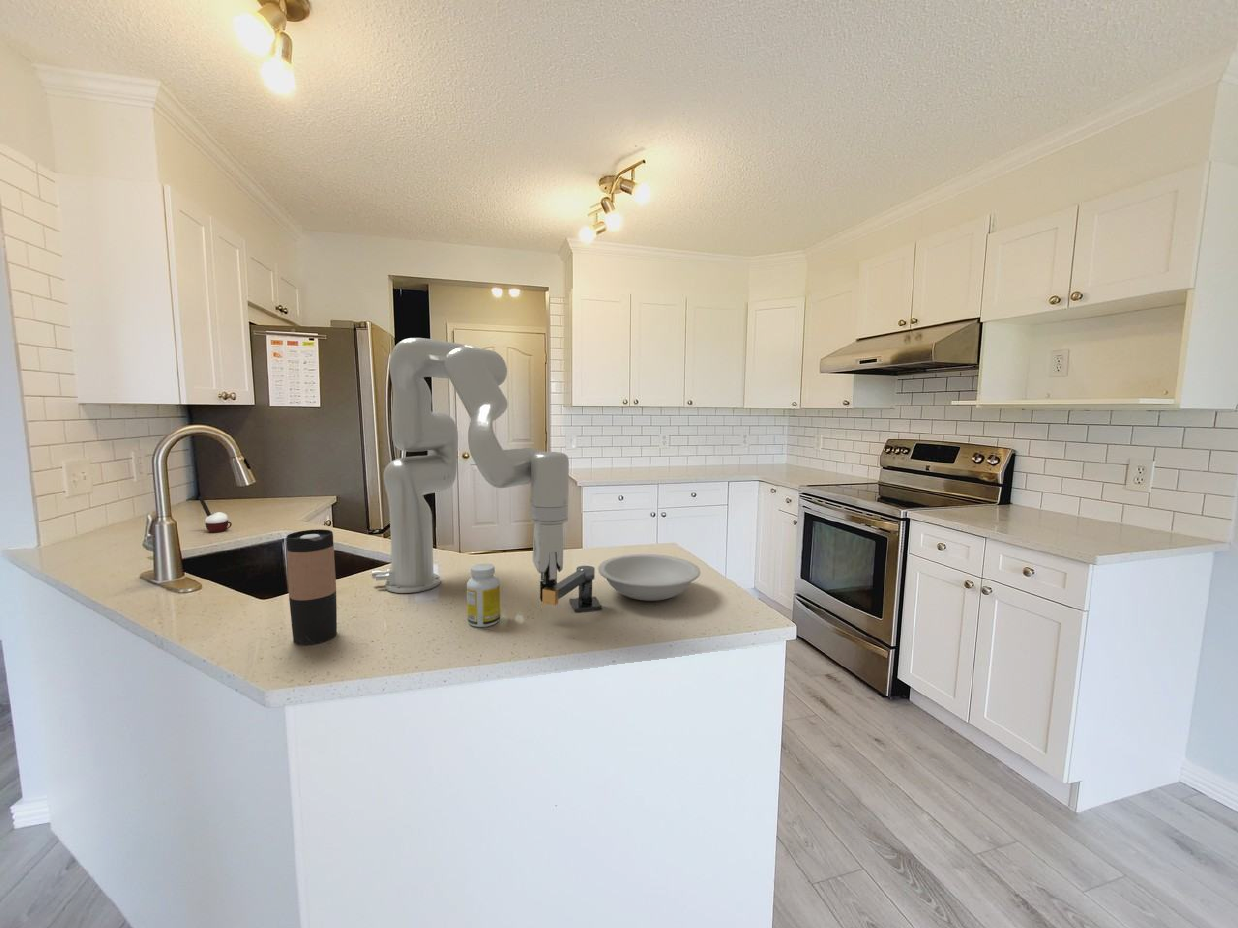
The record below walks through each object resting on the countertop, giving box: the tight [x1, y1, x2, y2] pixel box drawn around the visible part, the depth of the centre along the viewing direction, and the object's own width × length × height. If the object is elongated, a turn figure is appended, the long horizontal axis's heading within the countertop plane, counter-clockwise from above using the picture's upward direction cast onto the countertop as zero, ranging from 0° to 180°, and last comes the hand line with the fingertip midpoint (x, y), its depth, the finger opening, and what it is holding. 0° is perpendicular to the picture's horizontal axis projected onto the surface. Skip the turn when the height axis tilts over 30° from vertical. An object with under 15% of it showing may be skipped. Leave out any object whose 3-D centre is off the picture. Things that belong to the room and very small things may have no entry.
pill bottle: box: [466, 563, 501, 628], centre depth 105 cm, size 6×6×12 cm
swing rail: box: [541, 565, 596, 606], centre depth 107 cm, size 18×4×3 cm, turn 157°
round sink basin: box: [597, 553, 701, 602], centre depth 122 cm, size 24×24×7 cm
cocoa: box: [198, 496, 233, 534], centre depth 177 cm, size 10×6×12 cm, turn 73°
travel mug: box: [285, 528, 338, 646], centre depth 97 cm, size 8×8×20 cm
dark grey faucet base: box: [569, 580, 603, 613], centre depth 114 cm, size 6×6×6 cm
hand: (548, 600), depth 106 cm, fingers closed
